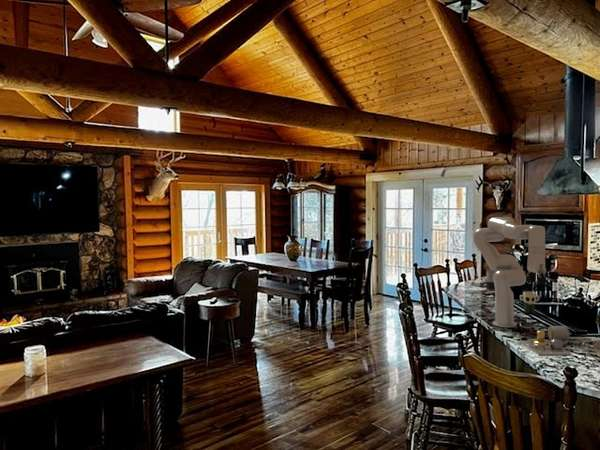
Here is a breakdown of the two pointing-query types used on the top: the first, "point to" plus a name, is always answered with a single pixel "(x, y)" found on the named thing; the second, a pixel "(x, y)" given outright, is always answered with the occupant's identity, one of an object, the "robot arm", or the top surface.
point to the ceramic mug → (559, 333)
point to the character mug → (529, 301)
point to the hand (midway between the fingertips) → (536, 283)
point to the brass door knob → (541, 338)
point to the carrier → (546, 347)
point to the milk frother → (489, 280)
